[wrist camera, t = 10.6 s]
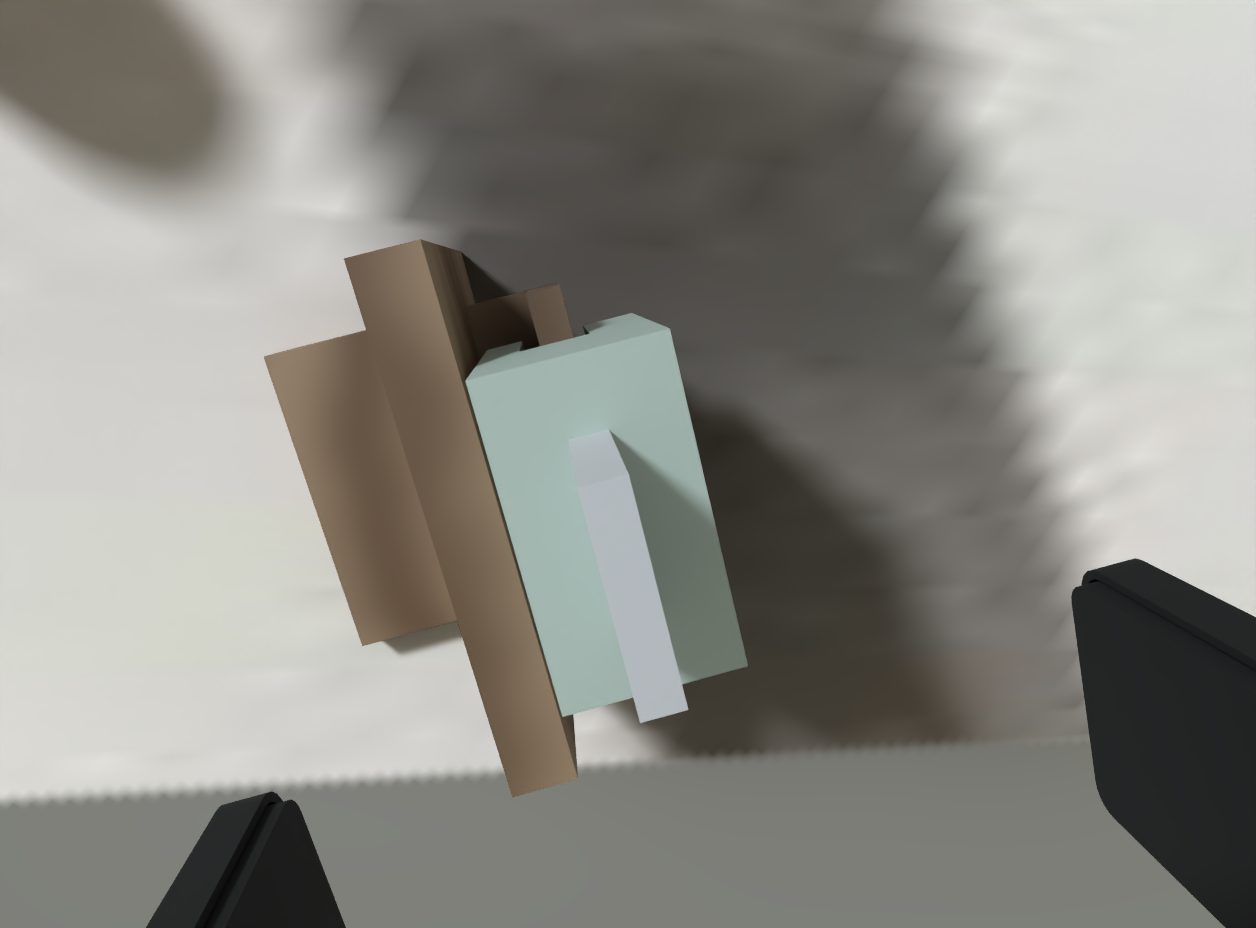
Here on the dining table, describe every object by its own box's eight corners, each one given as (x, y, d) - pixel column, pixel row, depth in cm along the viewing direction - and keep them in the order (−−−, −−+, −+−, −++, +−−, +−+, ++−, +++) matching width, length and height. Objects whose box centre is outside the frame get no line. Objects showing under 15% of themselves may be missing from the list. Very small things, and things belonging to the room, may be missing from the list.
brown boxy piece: (540, 231, 35) (541, 208, 23) (638, 605, 38) (681, 749, 27) (258, 302, 34) (111, 316, 22) (383, 674, 38) (313, 852, 26)
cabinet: (631, 313, 30) (708, 344, 16) (691, 559, 32) (803, 769, 18) (487, 349, 30) (442, 412, 16) (556, 594, 32) (568, 835, 18)
